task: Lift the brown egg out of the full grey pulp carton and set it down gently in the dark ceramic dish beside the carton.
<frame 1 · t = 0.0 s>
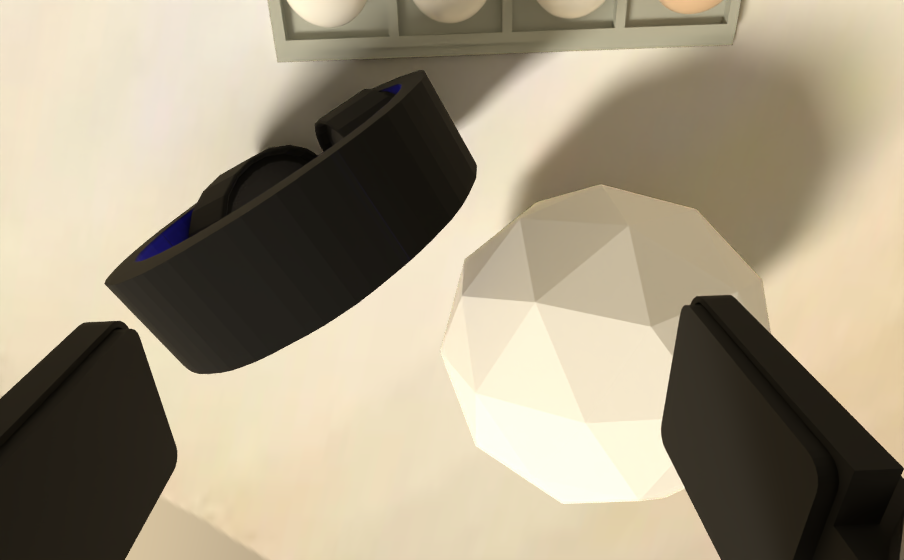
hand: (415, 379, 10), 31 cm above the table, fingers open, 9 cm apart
polyhedron: (566, 276, 44), on the table
headphones: (333, 158, 40), on the table
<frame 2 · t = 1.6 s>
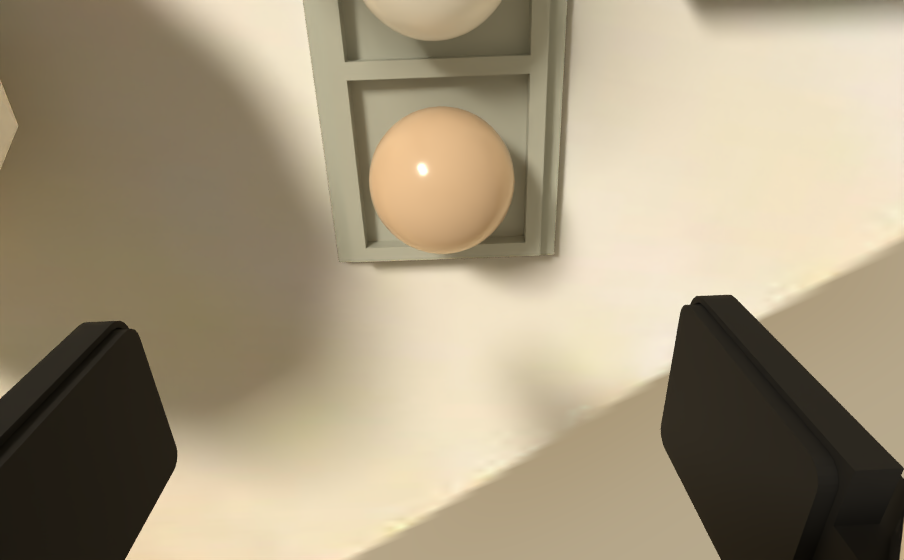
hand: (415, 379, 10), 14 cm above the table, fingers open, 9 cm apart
brown egg: (442, 162, 22), resting on carton
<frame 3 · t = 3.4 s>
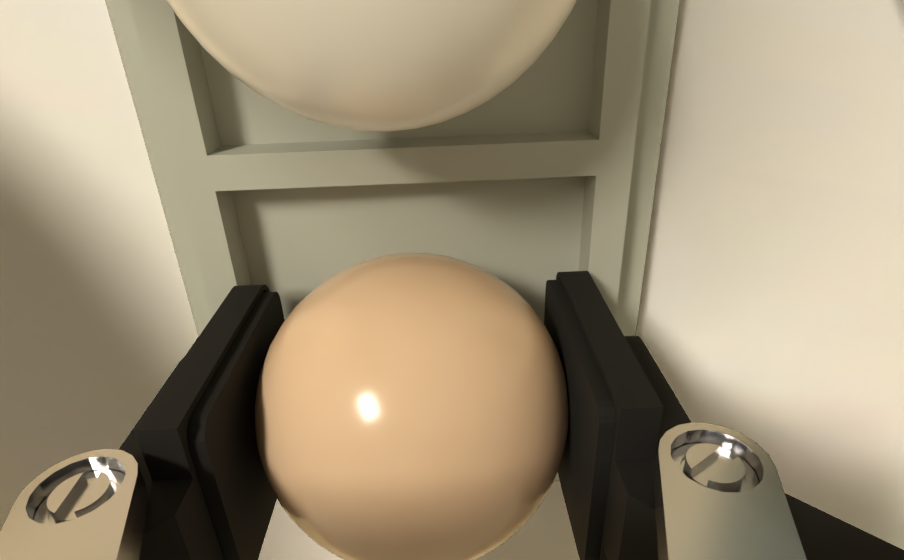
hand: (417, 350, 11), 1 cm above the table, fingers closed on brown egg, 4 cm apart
brown egg: (418, 324, 12), resting on carton, touching gripper
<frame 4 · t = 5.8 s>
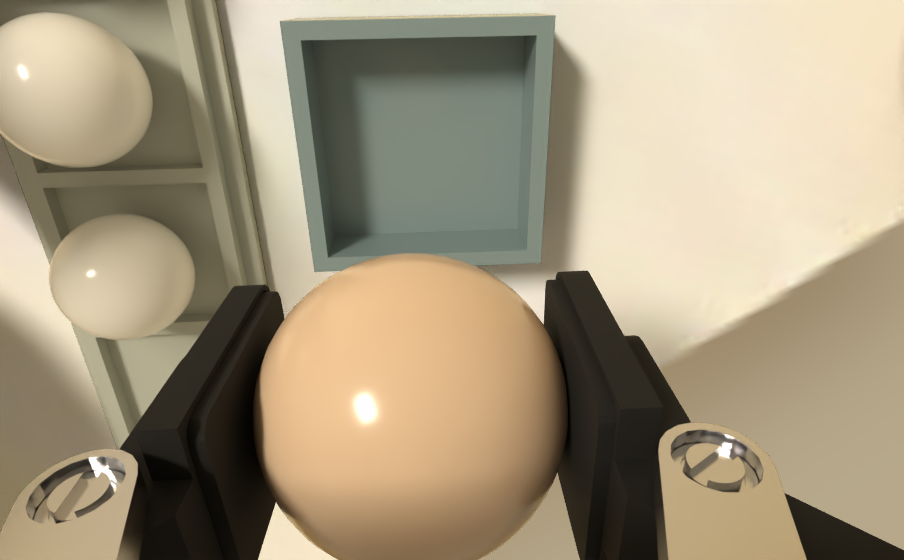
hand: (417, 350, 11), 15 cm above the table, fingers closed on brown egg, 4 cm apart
dish: (423, 137, 24), on the table
carton: (136, 169, 24), on the table
white egg b: (152, 251, 25), resting on carton
brown egg: (417, 325, 12), point 14 cm above the table, touching gripper
white egg a: (106, 83, 22), resting on carton
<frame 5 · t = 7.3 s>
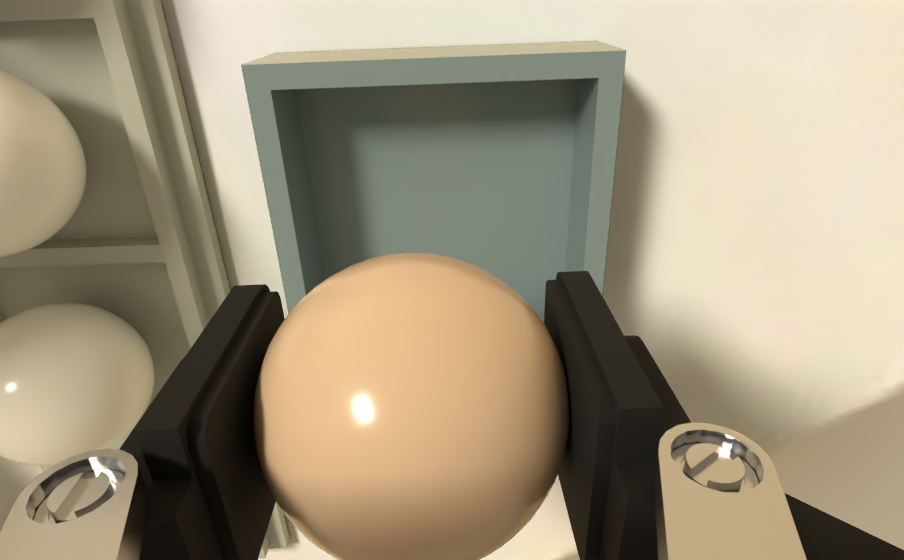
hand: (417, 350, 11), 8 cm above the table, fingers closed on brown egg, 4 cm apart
dish: (442, 200, 18), on the table
carton: (82, 241, 19), on the table
white egg b: (107, 339, 20), resting on carton
brown egg: (418, 325, 12), point 8 cm above the table, touching gripper
white egg a: (34, 139, 17), resting on carton
when the fingers open (3 cm above the table, at t = 8.7 s): brown egg drops 1 cm, resting on dish.
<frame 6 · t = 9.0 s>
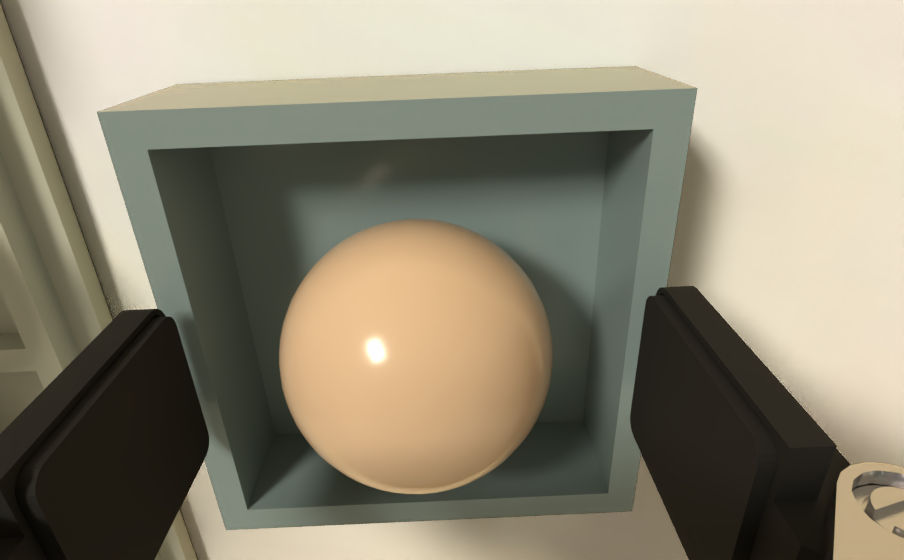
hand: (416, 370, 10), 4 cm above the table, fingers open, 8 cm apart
dish: (420, 279, 13), on the table
brown egg: (421, 290, 13), point 1 cm above the table, touching dish
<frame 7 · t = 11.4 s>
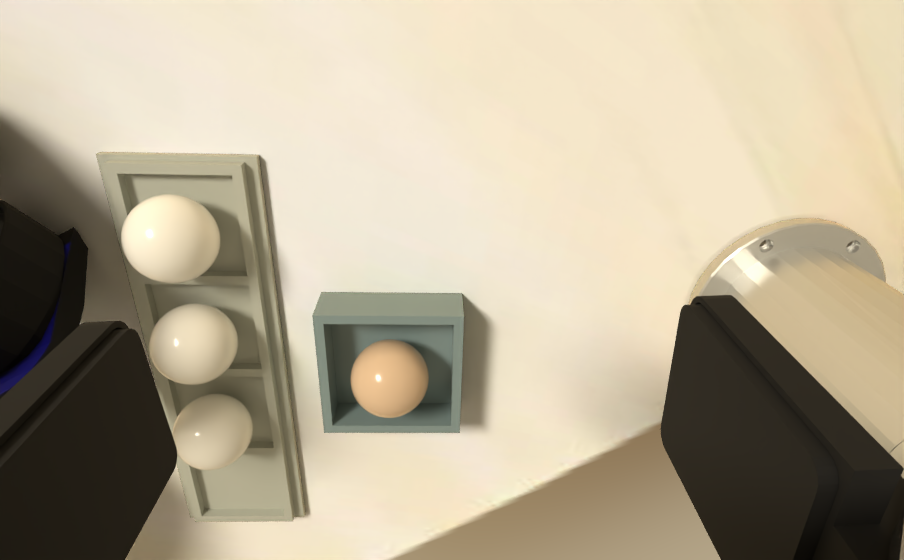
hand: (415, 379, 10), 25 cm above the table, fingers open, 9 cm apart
dish: (393, 351, 39), on the table
white egg c: (189, 223, 34), resting on carton
carton: (220, 362, 39), on the table
white egg b: (225, 407, 40), resting on carton
brown egg: (393, 355, 39), point 1 cm above the table, touching dish
headphones: (2, 192, 34), on the table
white egg a: (209, 322, 37), resting on carton
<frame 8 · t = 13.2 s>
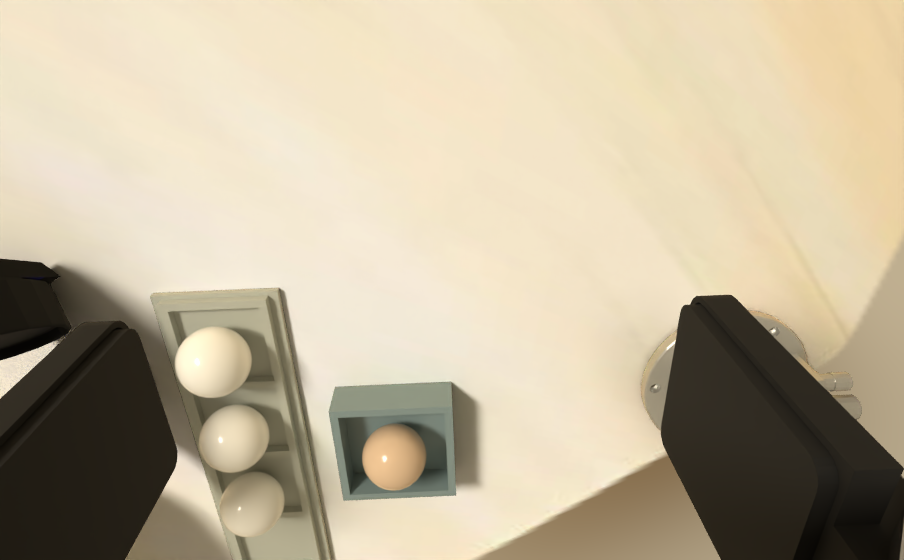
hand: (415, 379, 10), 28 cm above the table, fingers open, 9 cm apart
dish: (397, 429, 47), on the table
white egg c: (226, 342, 42), resting on carton
carton: (254, 445, 47), on the table
white egg b: (261, 480, 48), resting on carton
brown egg: (397, 433, 46), point 1 cm above the table, touching dish
headphones: (76, 326, 42), on the table
white egg a: (244, 416, 45), resting on carton
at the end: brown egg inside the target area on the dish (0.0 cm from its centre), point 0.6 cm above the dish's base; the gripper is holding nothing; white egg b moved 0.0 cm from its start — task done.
